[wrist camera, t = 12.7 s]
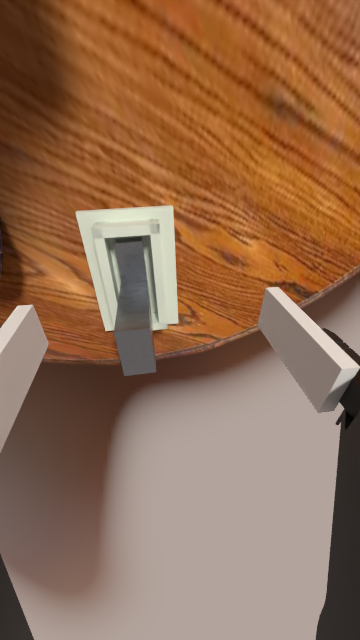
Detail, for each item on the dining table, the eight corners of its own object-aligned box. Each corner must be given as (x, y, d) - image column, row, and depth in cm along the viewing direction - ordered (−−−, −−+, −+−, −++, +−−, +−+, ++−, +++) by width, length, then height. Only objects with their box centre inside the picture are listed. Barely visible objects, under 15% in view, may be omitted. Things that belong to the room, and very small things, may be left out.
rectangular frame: (106, 327, 41) (103, 342, 37) (77, 211, 31) (69, 217, 27) (177, 320, 42) (180, 334, 38) (172, 205, 32) (176, 210, 28)
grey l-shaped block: (128, 310, 38) (124, 376, 27) (115, 239, 32) (102, 284, 20) (151, 307, 39) (156, 371, 27) (142, 236, 32) (143, 280, 21)
